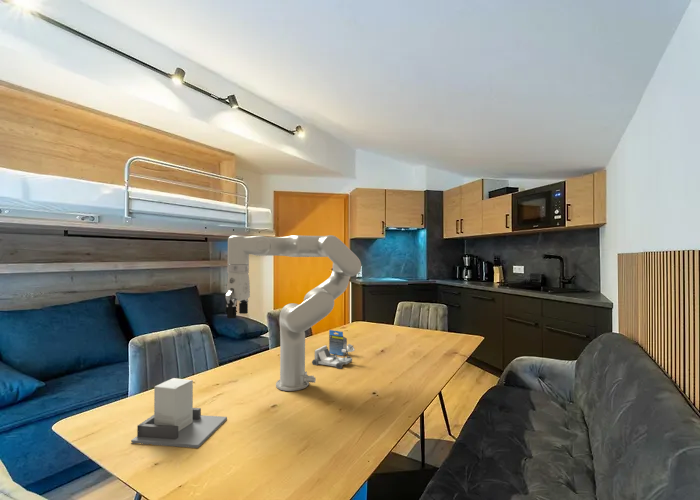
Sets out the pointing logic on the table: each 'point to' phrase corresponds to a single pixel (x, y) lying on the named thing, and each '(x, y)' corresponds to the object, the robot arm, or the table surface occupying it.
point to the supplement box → (174, 403)
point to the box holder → (186, 437)
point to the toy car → (331, 357)
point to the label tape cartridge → (337, 343)
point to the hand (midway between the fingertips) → (237, 315)
